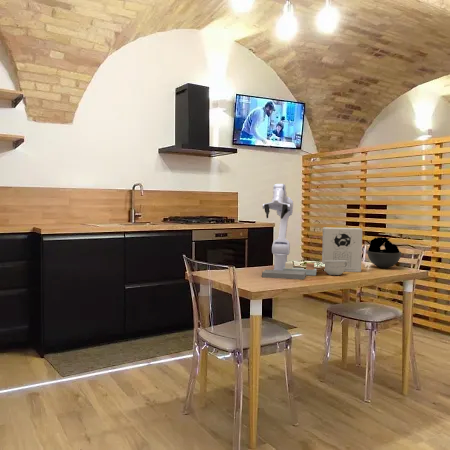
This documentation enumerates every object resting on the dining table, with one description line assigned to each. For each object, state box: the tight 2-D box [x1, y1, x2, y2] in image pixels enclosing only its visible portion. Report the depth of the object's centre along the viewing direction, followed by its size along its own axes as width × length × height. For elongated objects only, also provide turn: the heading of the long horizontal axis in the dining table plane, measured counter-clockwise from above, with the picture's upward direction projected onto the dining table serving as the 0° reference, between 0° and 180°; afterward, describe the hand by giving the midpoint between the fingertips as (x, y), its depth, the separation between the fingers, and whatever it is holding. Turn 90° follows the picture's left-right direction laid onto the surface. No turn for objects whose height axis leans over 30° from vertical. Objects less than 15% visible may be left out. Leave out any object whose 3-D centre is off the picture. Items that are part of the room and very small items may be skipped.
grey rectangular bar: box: [283, 267, 318, 276], centre depth 260 cm, size 18×5×3 cm, turn 75°
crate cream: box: [285, 261, 294, 269], centre depth 261 cm, size 4×4×3 cm
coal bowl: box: [366, 236, 402, 269], centre depth 288 cm, size 20×20×19 cm
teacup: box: [324, 260, 348, 276], centre depth 260 cm, size 14×11×8 cm
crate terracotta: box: [305, 262, 315, 270], centre depth 258 cm, size 4×4×3 cm
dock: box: [261, 269, 307, 280], centre depth 250 cm, size 11×22×2 cm, turn 75°
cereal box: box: [321, 226, 363, 273], centre depth 274 cm, size 22×8×25 cm, turn 84°
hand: (274, 217), depth 243 cm, fingers open, 7 cm apart
